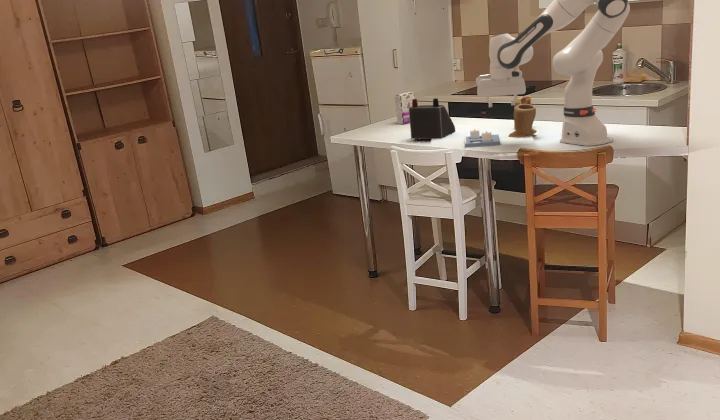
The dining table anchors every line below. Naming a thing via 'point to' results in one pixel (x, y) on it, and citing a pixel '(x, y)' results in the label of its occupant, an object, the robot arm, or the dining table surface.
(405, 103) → the candy bar box
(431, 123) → the voltmeter
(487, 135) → the tab
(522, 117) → the brown hollow flared piece
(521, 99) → the candy box
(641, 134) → the dining table surface
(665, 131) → the dining table surface
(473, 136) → the tab
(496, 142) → the switch bank
